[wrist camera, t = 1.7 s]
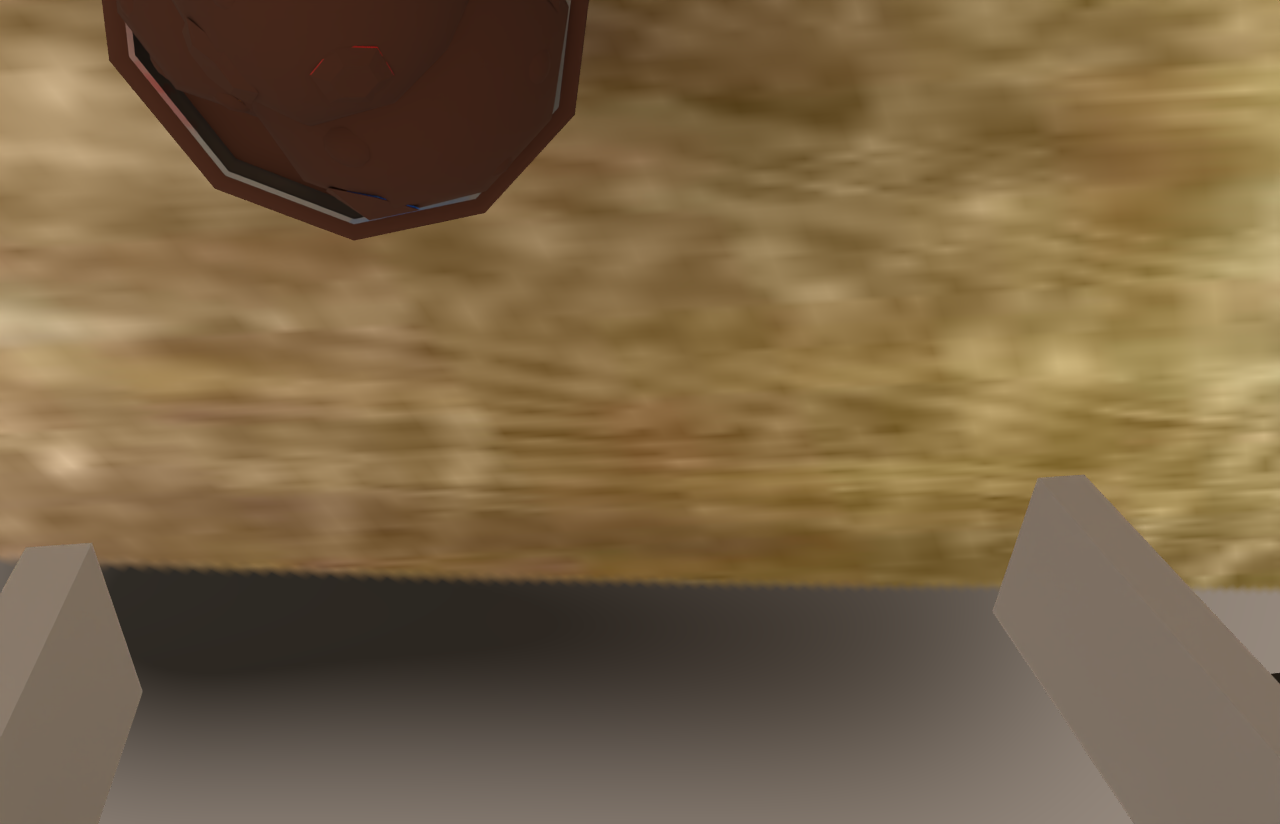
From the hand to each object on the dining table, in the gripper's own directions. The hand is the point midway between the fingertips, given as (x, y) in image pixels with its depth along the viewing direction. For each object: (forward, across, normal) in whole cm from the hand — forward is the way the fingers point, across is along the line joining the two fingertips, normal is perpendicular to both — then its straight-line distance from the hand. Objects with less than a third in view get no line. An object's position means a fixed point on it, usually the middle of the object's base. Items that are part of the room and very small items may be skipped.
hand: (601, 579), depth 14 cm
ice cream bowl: (+24, -4, +5) cm, 24 cm away
